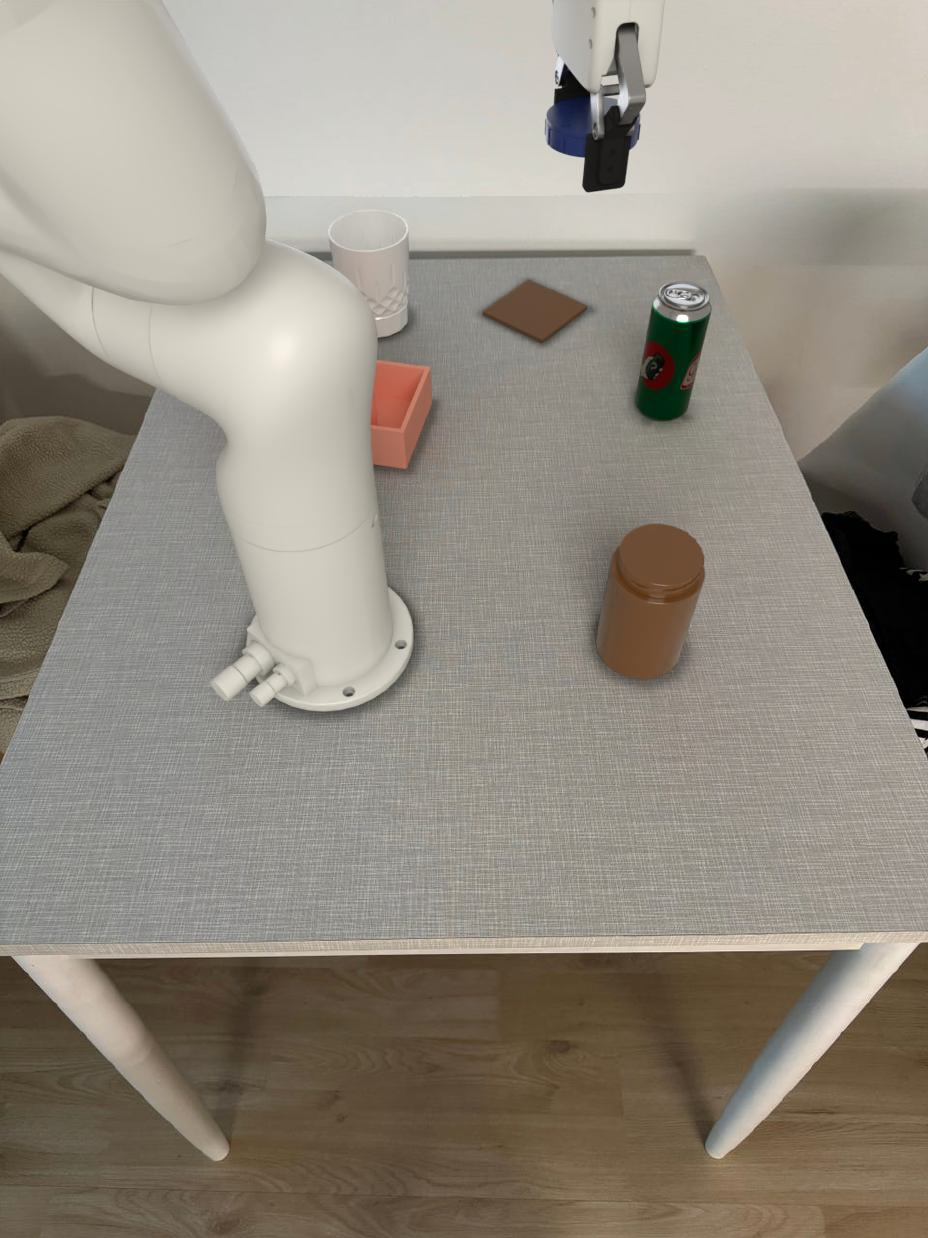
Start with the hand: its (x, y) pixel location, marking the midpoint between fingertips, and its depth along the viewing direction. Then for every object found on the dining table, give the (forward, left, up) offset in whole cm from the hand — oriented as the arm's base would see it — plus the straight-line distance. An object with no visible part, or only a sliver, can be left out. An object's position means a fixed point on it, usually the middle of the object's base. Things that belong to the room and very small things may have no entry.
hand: (586, 162), depth 68 cm
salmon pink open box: (-18, +15, -22) cm, 32 cm away
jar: (-21, -22, -22) cm, 37 cm away
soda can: (+4, -8, -22) cm, 24 cm away
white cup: (-3, +23, -22) cm, 32 cm away
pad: (+9, +11, -22) cm, 26 cm away
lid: (0, 0, +3) cm, 3 cm away
